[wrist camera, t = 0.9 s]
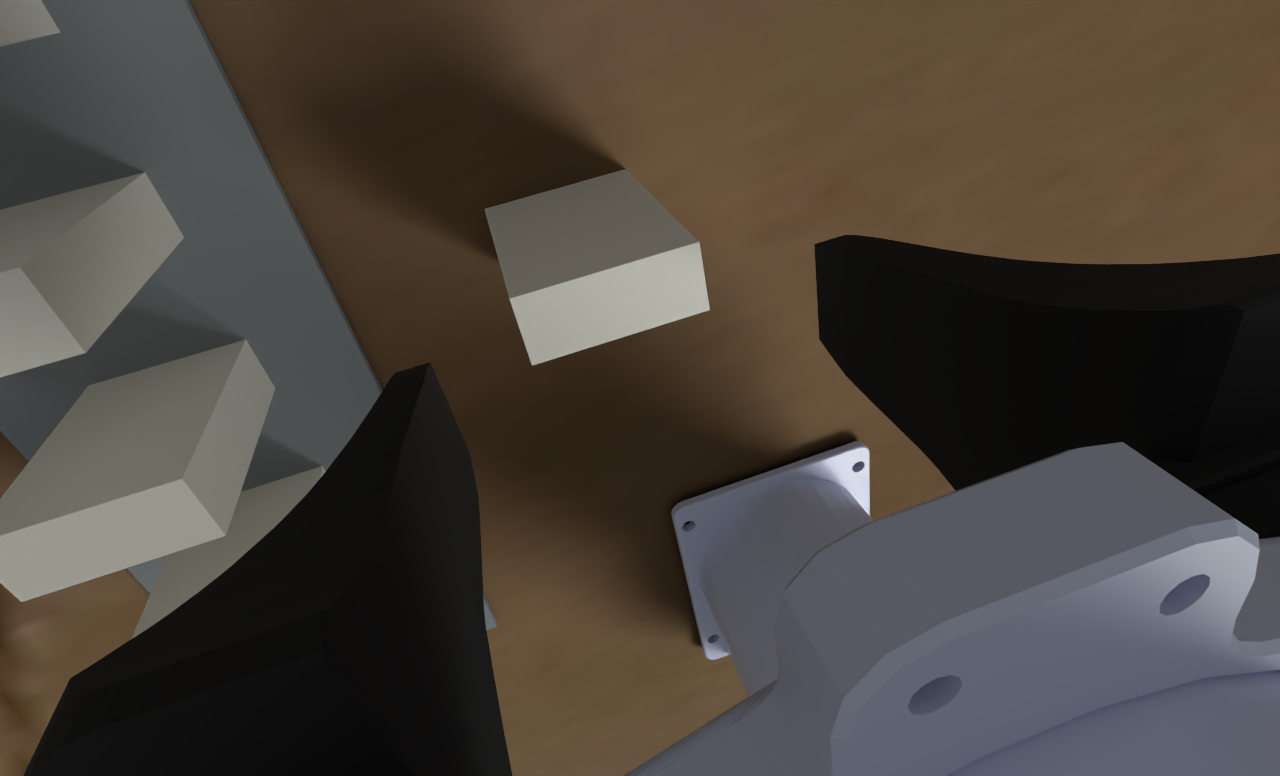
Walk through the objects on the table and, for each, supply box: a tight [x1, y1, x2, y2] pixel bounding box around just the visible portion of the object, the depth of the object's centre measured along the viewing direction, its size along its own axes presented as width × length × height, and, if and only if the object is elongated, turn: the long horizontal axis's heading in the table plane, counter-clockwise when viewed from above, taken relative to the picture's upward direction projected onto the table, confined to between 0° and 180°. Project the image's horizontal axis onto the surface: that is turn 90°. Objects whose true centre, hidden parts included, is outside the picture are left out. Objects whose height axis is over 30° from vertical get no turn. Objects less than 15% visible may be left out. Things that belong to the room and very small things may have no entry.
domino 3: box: [132, 466, 326, 639], centre depth 18 cm, size 2×4×6 cm, turn 101°
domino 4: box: [484, 169, 710, 366], centre depth 17 cm, size 2×4×6 cm, turn 101°
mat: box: [0, 0, 498, 631], centre depth 19 cm, size 26×9×1 cm, turn 11°
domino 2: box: [0, 339, 275, 602], centre depth 16 cm, size 2×4×6 cm, turn 101°
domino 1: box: [0, 172, 184, 377], centre depth 13 cm, size 2×4×6 cm, turn 101°
